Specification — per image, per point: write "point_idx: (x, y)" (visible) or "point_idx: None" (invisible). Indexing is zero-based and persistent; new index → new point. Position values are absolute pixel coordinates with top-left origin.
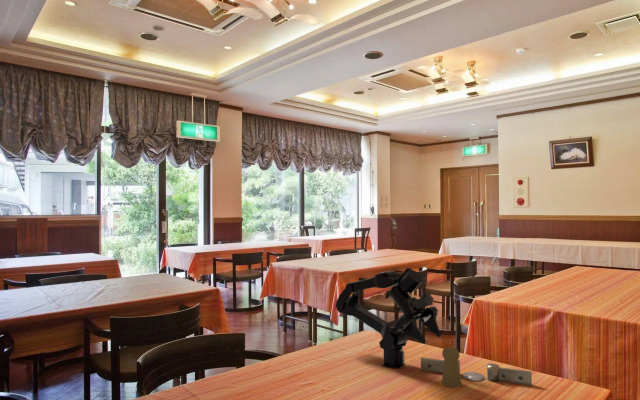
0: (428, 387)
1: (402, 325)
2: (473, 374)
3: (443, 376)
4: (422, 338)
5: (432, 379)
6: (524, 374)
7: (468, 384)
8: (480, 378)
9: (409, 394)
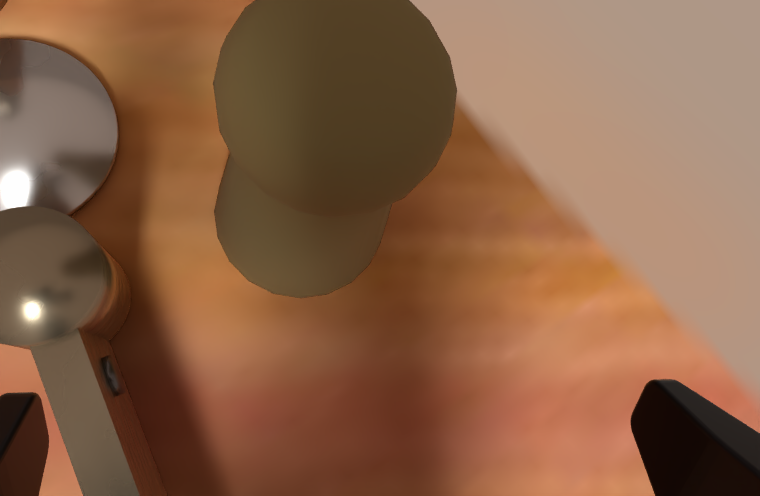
0: (507, 313)
1: None
2: None
3: (378, 238)
4: (748, 430)
5: (342, 384)
6: None
7: None
8: (28, 62)
9: (706, 345)
